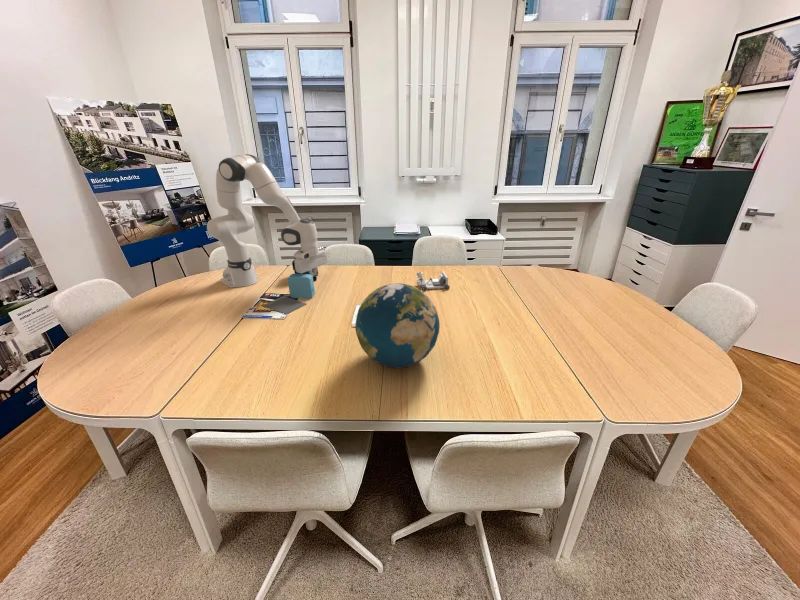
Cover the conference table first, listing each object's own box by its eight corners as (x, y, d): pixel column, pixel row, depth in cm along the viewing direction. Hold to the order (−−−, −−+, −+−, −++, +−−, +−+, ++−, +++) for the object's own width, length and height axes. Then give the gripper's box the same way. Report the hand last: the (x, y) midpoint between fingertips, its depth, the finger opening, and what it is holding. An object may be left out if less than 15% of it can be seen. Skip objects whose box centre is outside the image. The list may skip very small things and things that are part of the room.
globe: (363, 338, 145) (359, 271, 132) (435, 338, 144) (437, 270, 131) (352, 385, 118) (345, 306, 105) (440, 386, 117) (444, 306, 104)
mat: (263, 306, 173) (262, 305, 173) (283, 296, 183) (283, 296, 183) (286, 314, 165) (286, 313, 165) (306, 304, 174) (306, 303, 174)
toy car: (417, 275, 183) (413, 267, 193) (417, 292, 187) (413, 283, 198) (450, 273, 185) (445, 265, 195) (449, 289, 189) (444, 281, 200)
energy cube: (298, 274, 212) (295, 255, 206) (318, 273, 213) (315, 254, 208) (295, 282, 201) (291, 262, 196) (316, 281, 202) (313, 261, 197)
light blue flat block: (315, 295, 184) (312, 274, 179) (312, 298, 180) (309, 277, 175) (293, 294, 186) (290, 273, 180) (290, 298, 181) (286, 276, 176)
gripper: (320, 245, 189) (322, 268, 195) (291, 255, 174) (295, 280, 180) (328, 246, 186) (331, 270, 192) (300, 257, 171) (303, 283, 177)
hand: (313, 275), depth 186 cm, fingers closed
